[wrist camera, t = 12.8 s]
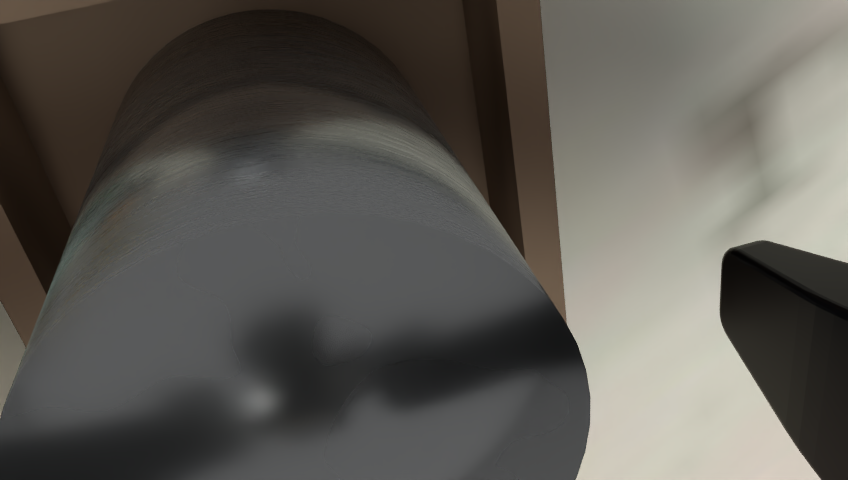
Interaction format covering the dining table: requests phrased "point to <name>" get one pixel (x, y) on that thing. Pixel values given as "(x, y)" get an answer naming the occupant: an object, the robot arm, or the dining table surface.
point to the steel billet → (290, 287)
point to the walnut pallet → (197, 3)
